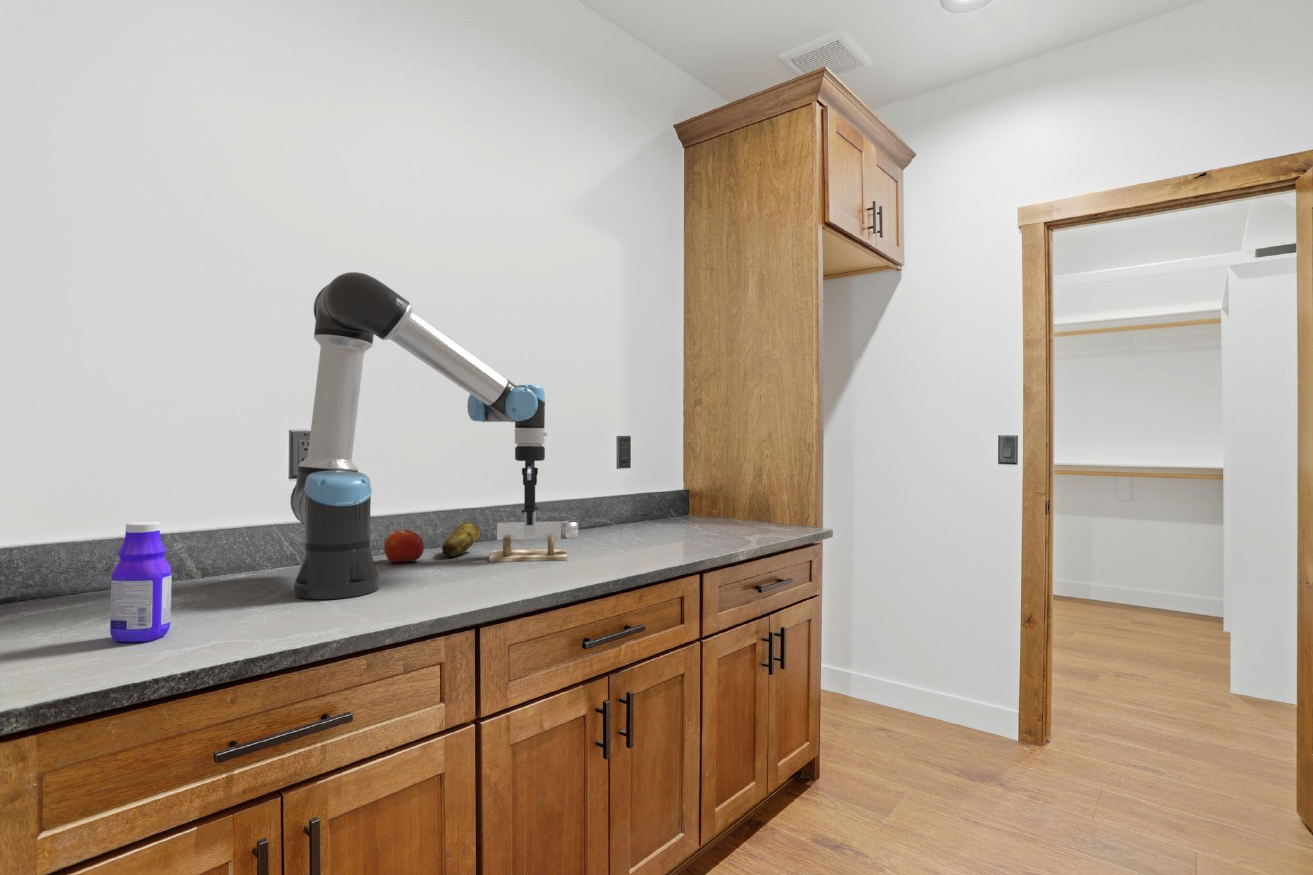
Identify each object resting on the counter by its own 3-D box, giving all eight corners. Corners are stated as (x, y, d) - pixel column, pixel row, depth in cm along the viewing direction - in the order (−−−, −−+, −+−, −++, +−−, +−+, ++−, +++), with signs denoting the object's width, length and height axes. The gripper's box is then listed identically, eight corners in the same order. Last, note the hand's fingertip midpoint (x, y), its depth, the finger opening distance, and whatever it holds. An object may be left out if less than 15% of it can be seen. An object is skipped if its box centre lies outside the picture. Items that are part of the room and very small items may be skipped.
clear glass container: (496, 540, 167) (496, 522, 167) (498, 537, 171) (498, 520, 171) (579, 538, 170) (579, 521, 170) (578, 536, 175) (578, 519, 175)
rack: (489, 561, 163) (489, 539, 163) (492, 554, 174) (493, 533, 174) (566, 560, 166) (567, 538, 166) (565, 552, 177) (566, 532, 177)
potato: (428, 556, 170) (429, 525, 170) (468, 549, 181) (468, 520, 181) (450, 559, 166) (450, 527, 166) (489, 552, 176) (489, 522, 176)
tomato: (378, 561, 163) (378, 528, 163) (414, 557, 169) (415, 525, 169) (392, 567, 156) (392, 533, 156) (430, 562, 162) (430, 529, 162)
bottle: (178, 632, 102) (180, 520, 102) (152, 644, 97) (153, 524, 97) (130, 633, 102) (131, 519, 102) (100, 644, 96) (102, 524, 96)
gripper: (544, 445, 163) (544, 541, 163) (545, 444, 179) (545, 531, 179) (513, 445, 162) (513, 542, 162) (516, 444, 178) (516, 532, 178)
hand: (530, 536), depth 170 cm, fingers closed on clear glass container, 3 cm apart
